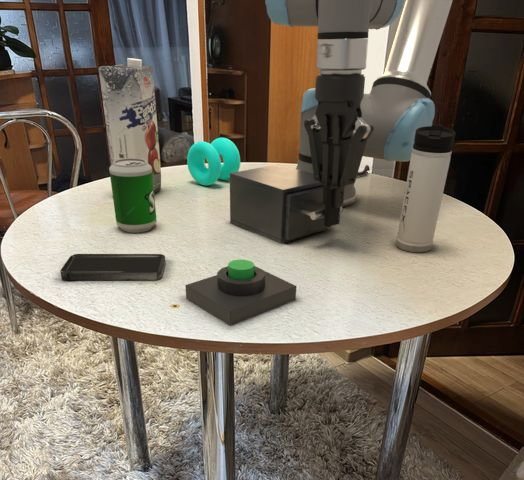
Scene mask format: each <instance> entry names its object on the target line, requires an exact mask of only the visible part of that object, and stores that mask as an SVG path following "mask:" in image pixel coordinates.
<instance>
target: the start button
mask: <svg viewBox="0 0 524 480" xmlns="http://www.w3.org/2000/svg"><path fill="white" fill-rule="evenodd" d="M227 266H228V277H229V278H231V279H236V280H248V279H251V278H254V266H255V263H254V262H253V261H251V260H248V259H241V258H239V259H233V260H231V261H229V262H228V264H227Z"/></svg>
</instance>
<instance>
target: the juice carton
mask: <svg viewBox="0 0 524 480" xmlns="http://www.w3.org/2000/svg"><path fill="white" fill-rule="evenodd" d="M126 62H127V63H126V64H125V63H124V64H123V63H119V64H115V65H102V66H99V67H98V75H99V80H100V81H99V83H100V89H101V91H100V92H101V97H102V99H101V100H102V105H103V114H104V121H105V129H106V136H107V137H106V138H107V145H108V152H109V160H110V166H111V165H112V164H113V162H114V161H116V160H119V159H126V158H137V159H143V160H146V161H147V163H148V164H149V165H150V166H151V167H152V174H153V185H154V194H156V193H158V192H160V190H161V189H162V167H161V156H160V155H161V153H160V143H159V130H158V118H157V105H156V103H157V102H156V91H155V82H154V72H153V66H151V65H149V64H148V65H145V64H143V60H142V59H139V58H133V57H127V59H126Z"/></svg>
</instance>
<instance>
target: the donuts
mask: <svg viewBox="0 0 524 480" xmlns="http://www.w3.org/2000/svg"><path fill="white" fill-rule="evenodd" d="M221 157H222V160H223V164H222V160H221ZM186 160H187V161H186V163H187V169H188V172H189V174H190V175H191V177H192V179H193V180H194V181H195V182H196V183H198V184H199V185H202V186H212V185H214V184H215V183H216V182H217V181H218V180H219V179H220V180H222V181H230V173H233V172H239V171H240V168H241V155H240V152H239V149H238V147H237V145H236V144H235V143H234V142H233V141H232V140H230V139H229V138H227V137H217V138H215V139H214V140H212V141H211V142H207V141H204V140H201V141H200V140H199V141H196V142H195V143H193V144H192V145H191V147H190V148H189V150H188V152H187V156H186ZM205 160H206V162H207V166H206V164H205Z"/></svg>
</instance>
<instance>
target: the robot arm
mask: <svg viewBox="0 0 524 480" xmlns="http://www.w3.org/2000/svg"><path fill="white" fill-rule="evenodd" d="M404 2H405V3H404ZM452 3H453V0H405V1H404V0H265V3H264V4H265V7H266V13H267V16H268V19H269V20H270V21H271V22H272V23H273V24H275V25H277V26H286V27H289V28H294V27H311V28H312V27H313V28H314V27H315V28H317V35H316V36H317V37H316V38H317V40H316V43H317V44H316V69H317V71H319V73H318V74H316V76H315V83H314V84H315V85H314V86H315V87H314V88H309V89H307V90H305V92H304V93H303V96H302V100H301V107H300V112H299V115H300V126H299V141H298V142H299V143H298V158H297V159H298V161H297V165H296V168H295V169H297V170H301V171H304V172H308V173H312V174H314V179H315V180H316V181H320V182H321V183H322V185H323V205H325V220H324V226H327V227H330V228H331V227H334V226H336V225H340V219H341V216H340V215H341V213H340V207H342V208H344V207H347V206H350V205H352V204H354V203H355V202H356V196H357V193H356V192H357V191H356V187H355V183H356V181H357V177H361V176H364V175H365V174H367V172H370V166H369V165H368V164H365V166H364V169H363V170H362V171H359V170H360V166H361V163H362V160H363V157H365V158H371V159H378V160H384V161H387V162H403V163H404V162H410V159H411V154H412V152H413V151H412V148H413V144H414V138H415V133H416V130H417V129H418V128H420V127H426V126H432V124H433V122H434V119H435V114H436V106H435V103H434V101H433V100H432V99H431V97H432V92H431V90H430V88H429V86H428V85H427V83H428V82H429V81H428V80H429V77H430V74H431V71H432V68H433V64H434V61H435V58H436V55H437V52H438V48H439V45H440V42H441V39H442V36H443V33H444V29H445V27H446V23H447V20H448V17H449V13H450V10H451V8H452ZM402 9H403V10H402ZM401 12H402V13H401ZM400 14H401V15H400ZM399 16H400V19H399V23H398V26H397V28H396V29H397V30H396V33H395V36H394V39H393V43H392V46H391V49H390V53H389V56H388V59H387V63H386V66H385V68H384V72H383V74H382V75H380V76H378V77H377V78H375V79H374V81H373V82H372V86H371V89H370V92H369V93H365V84H366V83H365V82H366V76H365V74H364V73H362V72H363V71H364V70H366V68H367V63H368V62H367V61H368V60H367V59H368V47H369V31H370V30H376V31H377V30H380V29H384V28H387V27H389V26H391V25H392V24H393V23H394V22H395V21H396V20H397V19H398V17H399Z"/></svg>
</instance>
